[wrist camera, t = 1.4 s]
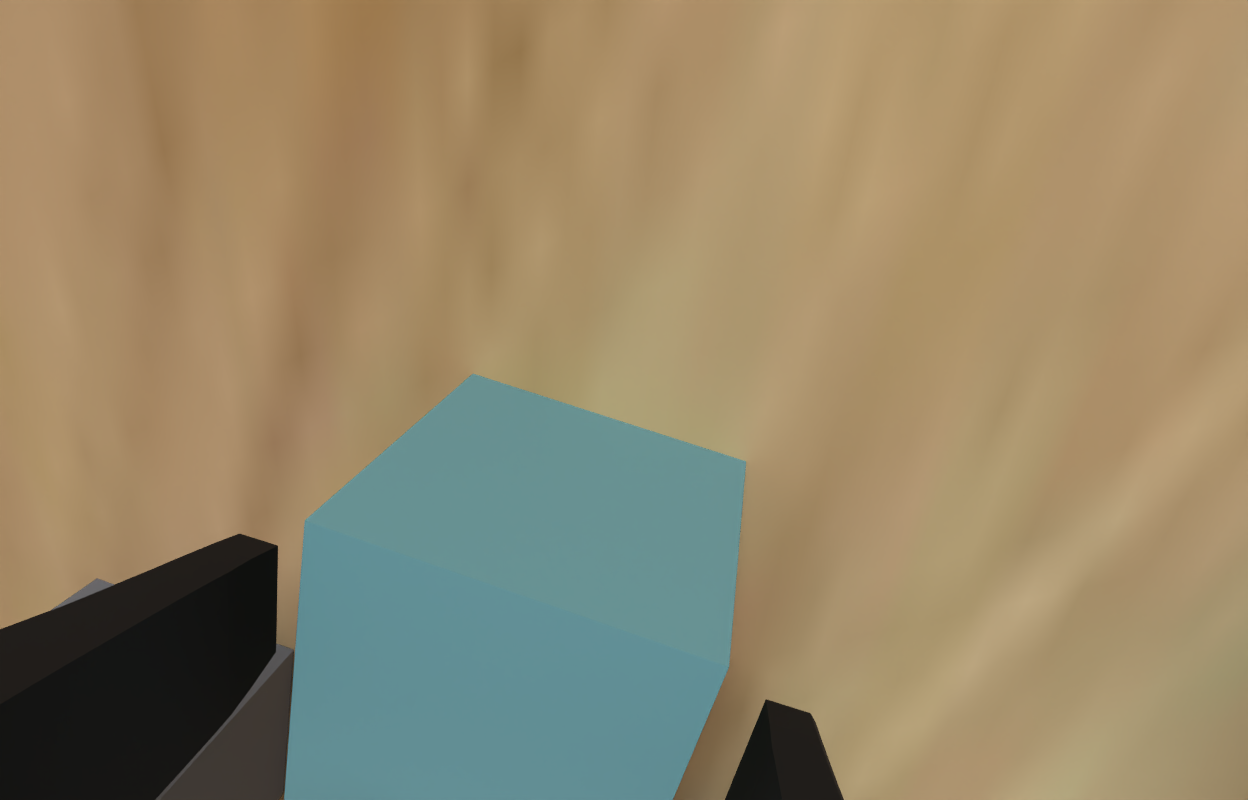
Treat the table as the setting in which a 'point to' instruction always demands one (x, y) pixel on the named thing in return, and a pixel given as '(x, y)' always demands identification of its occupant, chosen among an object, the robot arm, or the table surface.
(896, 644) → the table surface
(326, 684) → the teal block
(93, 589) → the charcoal block
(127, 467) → the table surface
